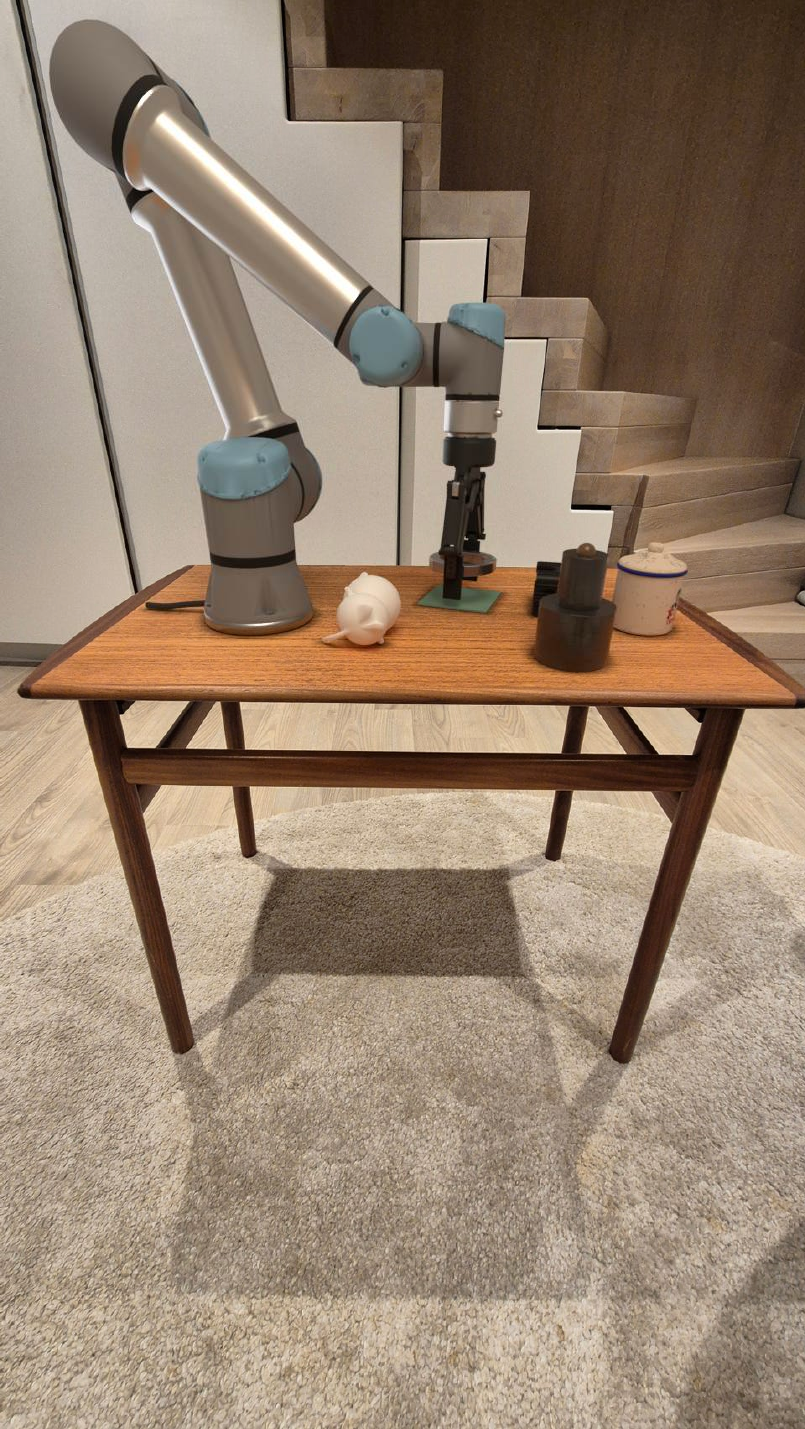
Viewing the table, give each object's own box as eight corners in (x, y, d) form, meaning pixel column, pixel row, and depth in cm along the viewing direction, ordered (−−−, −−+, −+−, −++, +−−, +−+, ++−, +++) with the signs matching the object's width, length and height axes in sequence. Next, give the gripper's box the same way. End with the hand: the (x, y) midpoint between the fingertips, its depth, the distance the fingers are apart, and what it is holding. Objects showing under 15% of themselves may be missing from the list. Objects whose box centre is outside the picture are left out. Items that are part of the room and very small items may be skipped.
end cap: (581, 621, 87) (588, 575, 84) (531, 617, 88) (537, 572, 85) (577, 601, 96) (584, 558, 93) (532, 597, 97) (537, 555, 94)
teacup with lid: (680, 639, 81) (701, 553, 76) (610, 634, 82) (626, 549, 77) (661, 611, 92) (679, 533, 86) (600, 607, 93) (614, 531, 87)
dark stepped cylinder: (528, 666, 73) (542, 548, 66) (538, 640, 80) (552, 532, 74) (604, 677, 70) (627, 555, 63) (608, 649, 78) (629, 538, 71)
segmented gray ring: (421, 572, 91) (421, 562, 90) (440, 557, 99) (440, 547, 99) (487, 579, 88) (488, 568, 87) (500, 563, 96) (501, 553, 96)
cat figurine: (364, 581, 70) (384, 554, 81) (295, 622, 75) (322, 591, 85) (403, 642, 74) (417, 608, 84) (335, 678, 78) (356, 641, 88)
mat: (417, 605, 93) (417, 603, 93) (437, 586, 102) (437, 584, 102) (486, 613, 90) (486, 611, 90) (501, 593, 99) (501, 591, 99)
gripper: (477, 441, 74) (466, 613, 85) (511, 432, 93) (498, 573, 104) (420, 439, 76) (415, 607, 87) (464, 430, 95) (456, 569, 106)
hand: (460, 589), depth 95 cm, fingers closed on segmented gray ring, 10 cm apart
